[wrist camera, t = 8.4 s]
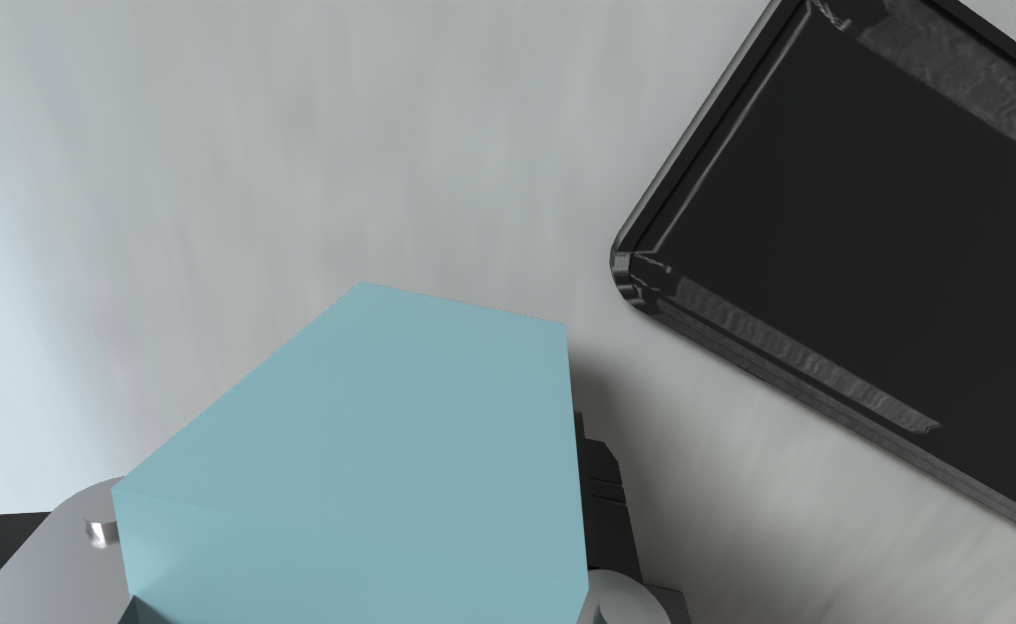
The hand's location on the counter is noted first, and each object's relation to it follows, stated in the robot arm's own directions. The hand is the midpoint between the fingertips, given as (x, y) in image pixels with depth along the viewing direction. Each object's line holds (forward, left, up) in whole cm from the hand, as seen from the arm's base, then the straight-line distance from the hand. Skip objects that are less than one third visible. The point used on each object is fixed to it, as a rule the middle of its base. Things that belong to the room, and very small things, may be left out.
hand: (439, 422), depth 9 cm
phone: (-11, +4, -4) cm, 12 cm away
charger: (0, 0, -2) cm, 2 cm away
